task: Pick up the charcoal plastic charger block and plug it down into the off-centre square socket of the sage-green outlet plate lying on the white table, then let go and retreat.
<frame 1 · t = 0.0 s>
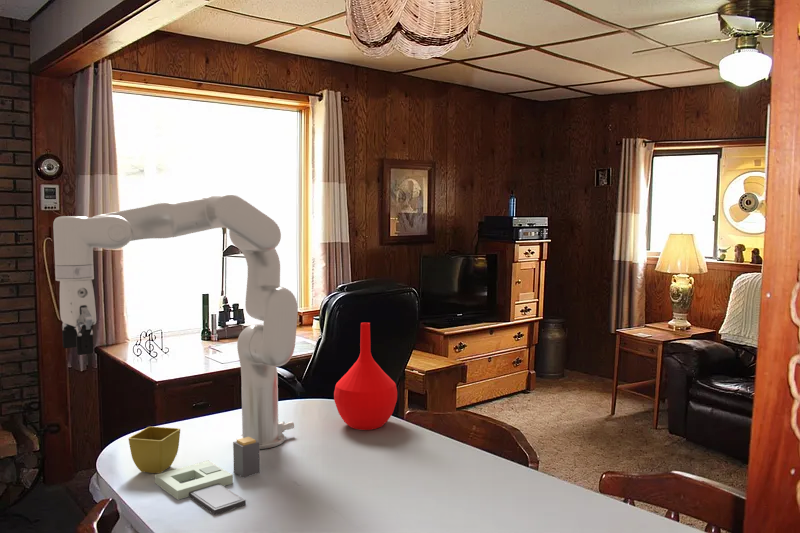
hand: (77, 350, 145), 31 cm above the table, fingers open, 9 cm apart
vase: (366, 425, 192), on the table
phone slab: (216, 500, 141), on the table
charger block: (246, 472, 157), on the table
flower pot: (156, 470, 159), on the table
outlet plate: (194, 483, 150), on the table
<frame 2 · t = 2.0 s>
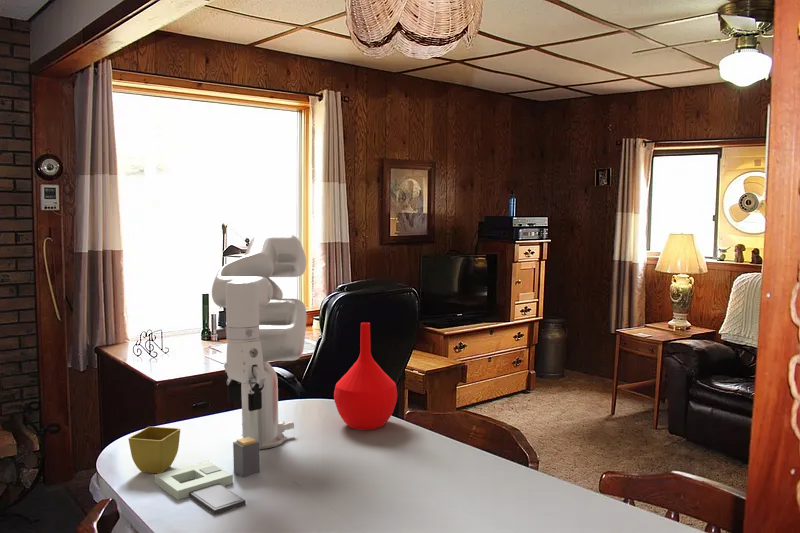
hand: (244, 405, 155), 16 cm above the table, fingers open, 9 cm apart
nothing on the table moved.
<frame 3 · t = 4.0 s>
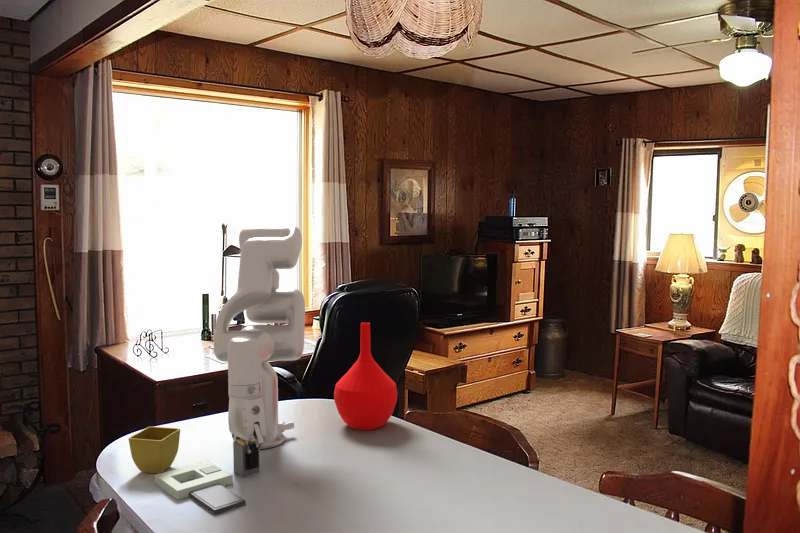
hand: (246, 464, 156), 2 cm above the table, fingers closed on charger block, 4 cm apart
charger block: (246, 472, 157), on the table, touching gripper
everything else where it was.
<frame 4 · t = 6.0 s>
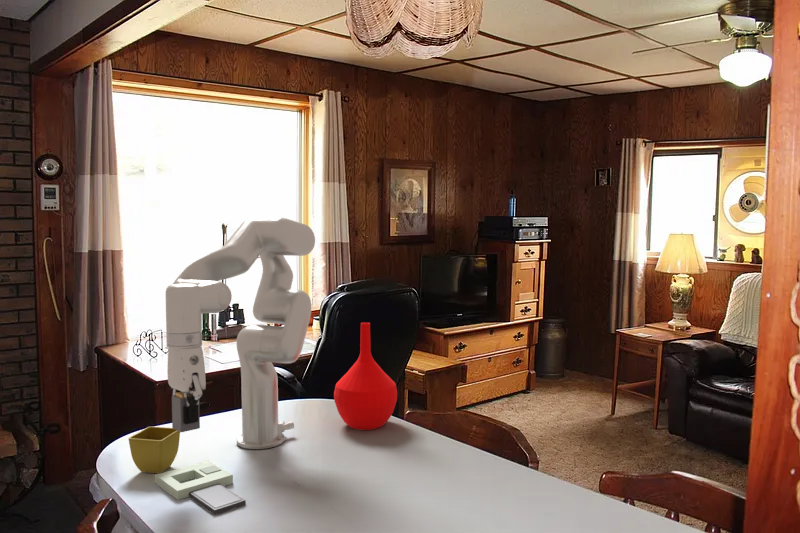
hand: (185, 419, 148), 15 cm above the table, fingers closed on charger block, 4 cm apart
charger block: (186, 428, 148), point 13 cm above the table, touching gripper
everything else where it was.
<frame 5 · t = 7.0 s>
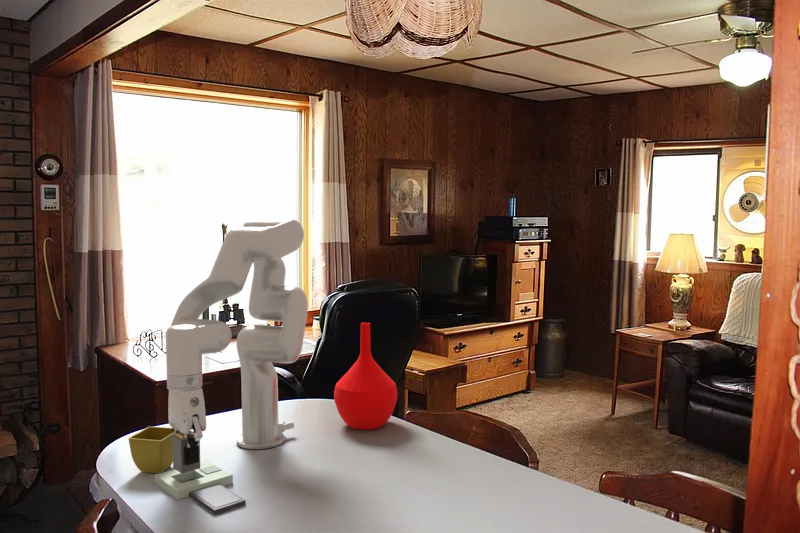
hand: (186, 459, 149), 6 cm above the table, fingers closed on charger block, 4 cm apart
charger block: (186, 468, 149), point 4 cm above the table, touching gripper
everything else where it was.
when the fingers open (3 cm above the table, at t = 7.9 s): charger block stays where it is, resting in outlet plate.
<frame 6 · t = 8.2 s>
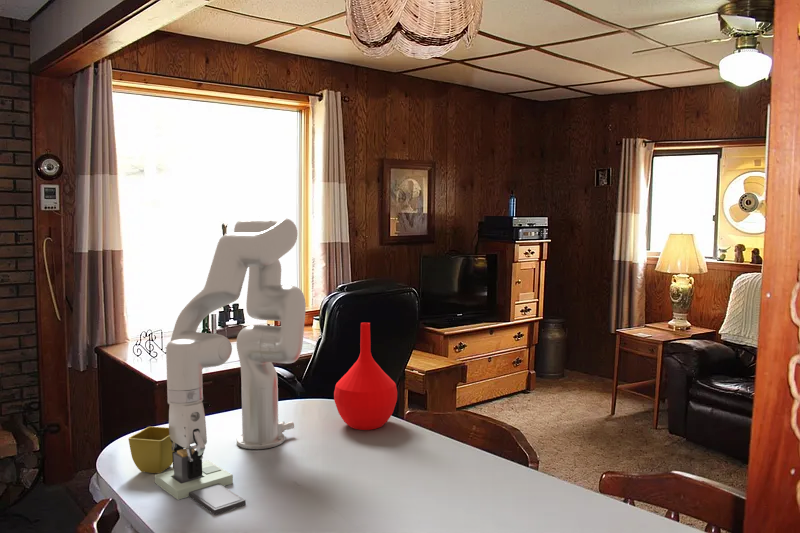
hand: (187, 471, 149), 3 cm above the table, fingers open, 7 cm apart
charger block: (187, 485, 149), resting in outlet plate
everything else where it was.
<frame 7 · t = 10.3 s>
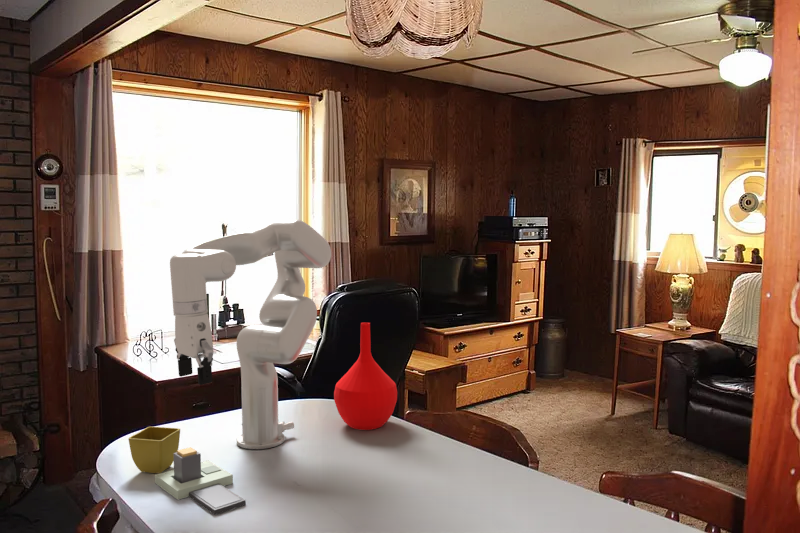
hand: (195, 379, 155), 23 cm above the table, fingers open, 9 cm apart
nothing on the table moved.
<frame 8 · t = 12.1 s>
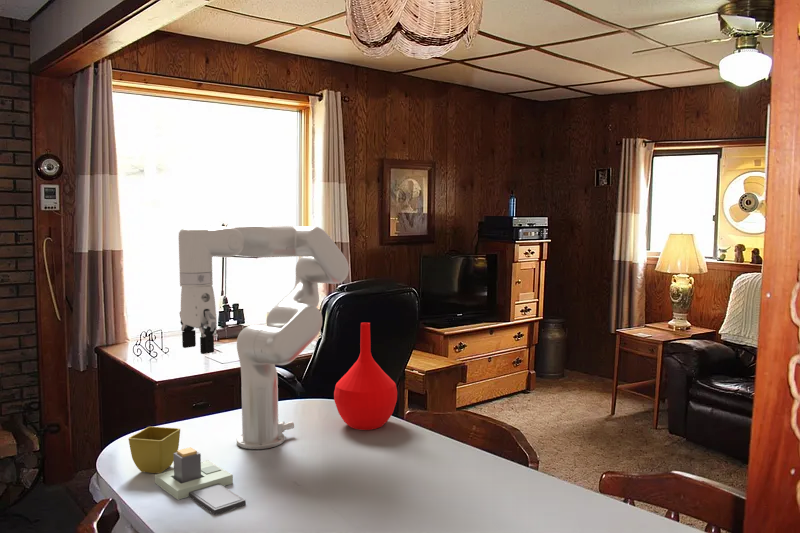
hand: (198, 350, 160), 28 cm above the table, fingers open, 9 cm apart
nothing on the table moved.
at the end: charger block 0.0 cm from the target spot on the outlet plate, point 0.0 cm above the outlet plate's base; charger block tilted 0°; the gripper is holding nothing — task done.
